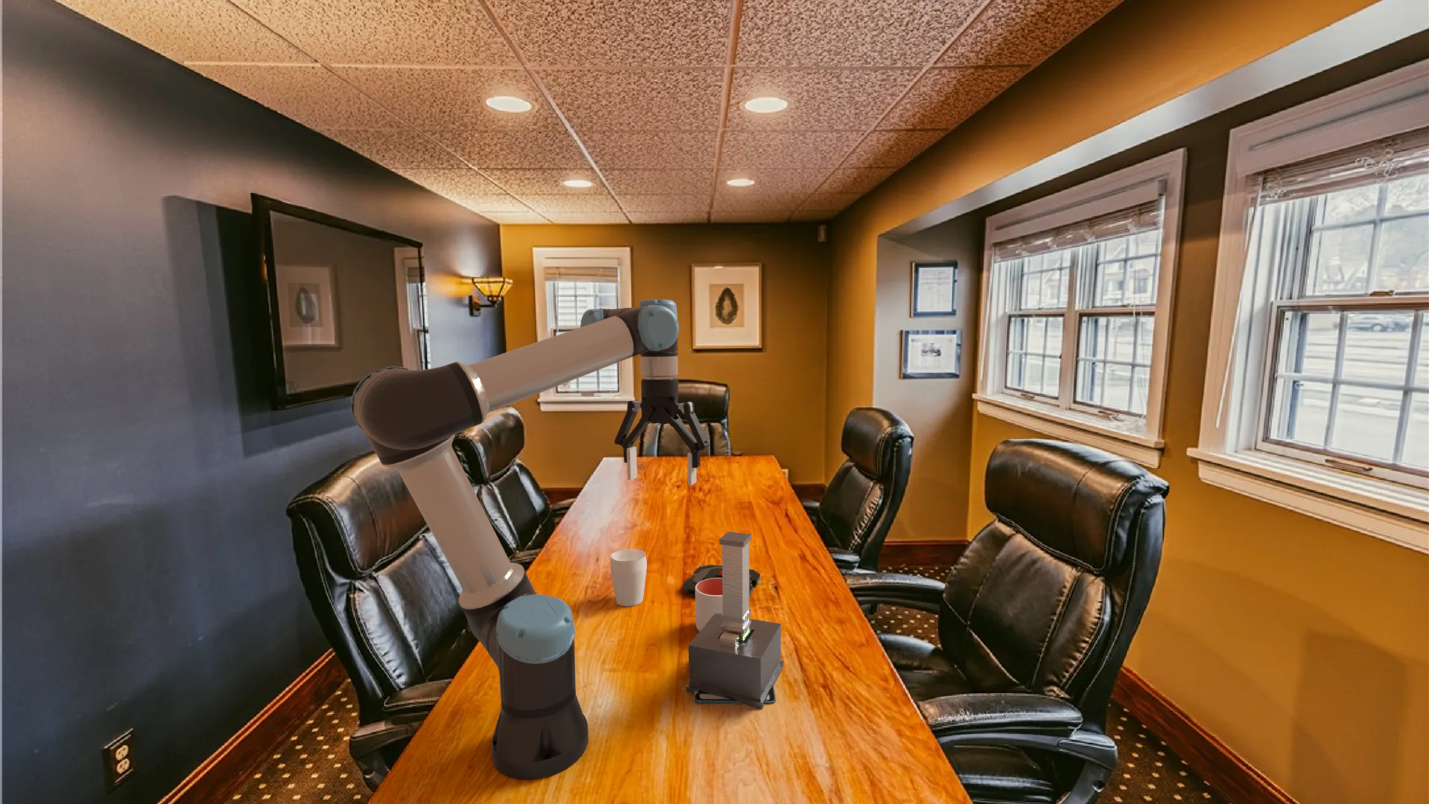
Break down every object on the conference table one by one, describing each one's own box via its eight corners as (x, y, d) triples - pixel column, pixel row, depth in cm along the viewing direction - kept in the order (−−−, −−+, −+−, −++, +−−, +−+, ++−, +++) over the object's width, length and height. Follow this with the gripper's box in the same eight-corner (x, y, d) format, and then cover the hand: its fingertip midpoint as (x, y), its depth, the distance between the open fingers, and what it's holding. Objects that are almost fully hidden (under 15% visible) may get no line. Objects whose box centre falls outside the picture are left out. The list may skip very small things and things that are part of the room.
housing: (762, 708, 108) (762, 652, 107) (685, 691, 113) (684, 638, 112) (783, 665, 122) (783, 615, 120) (714, 652, 127) (713, 604, 126)
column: (744, 650, 113) (743, 542, 111) (720, 645, 115) (719, 539, 113) (751, 638, 118) (751, 534, 116) (728, 634, 120) (727, 531, 117)
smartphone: (776, 702, 109) (693, 701, 109) (776, 707, 109) (693, 706, 109) (772, 679, 116) (695, 678, 116) (772, 683, 116) (695, 682, 117)
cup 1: (641, 610, 147) (639, 562, 146) (606, 607, 149) (604, 560, 147) (652, 594, 156) (651, 549, 154) (619, 592, 157) (617, 547, 156)
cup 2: (701, 642, 131) (701, 598, 130) (691, 621, 141) (690, 580, 140) (745, 636, 134) (745, 592, 133) (732, 616, 143) (732, 575, 142)
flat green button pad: (745, 607, 149) (745, 589, 148) (678, 597, 155) (677, 580, 154) (763, 579, 166) (763, 563, 165) (701, 571, 172) (701, 556, 171)
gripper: (724, 377, 120) (725, 481, 123) (614, 375, 129) (617, 472, 132) (710, 379, 114) (711, 490, 116) (596, 377, 122) (599, 480, 125)
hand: (661, 481), depth 124 cm, fingers open, 13 cm apart
